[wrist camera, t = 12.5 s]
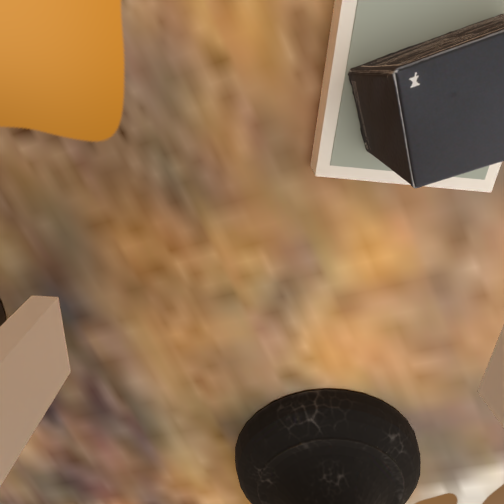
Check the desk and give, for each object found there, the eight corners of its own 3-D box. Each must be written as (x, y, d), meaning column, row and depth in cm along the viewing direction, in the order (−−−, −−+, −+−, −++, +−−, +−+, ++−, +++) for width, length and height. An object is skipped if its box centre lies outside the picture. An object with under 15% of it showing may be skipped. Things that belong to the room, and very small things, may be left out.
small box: (365, 157, 30) (411, 197, 20) (345, 69, 27) (386, 65, 18) (511, 110, 28) (636, 128, 18) (503, 10, 26) (644, -28, 16)
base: (310, 165, 34) (315, 176, 31) (338, -25, 29) (349, -41, 25) (467, 180, 34) (493, 193, 31) (527, -7, 29) (568, -20, 25)
